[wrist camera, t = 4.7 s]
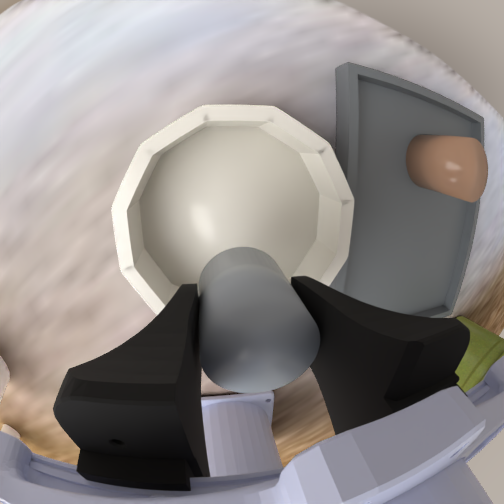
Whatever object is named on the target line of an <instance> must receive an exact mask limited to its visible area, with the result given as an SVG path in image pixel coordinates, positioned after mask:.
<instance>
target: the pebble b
mask: <svg viewBox="0 0 504 504" xmlns="http://www.w3.org/2000/svg"><path fill="white" fill-rule="evenodd" d="M406 166H407V171H408V174H409V176H410V178H411V180H412V181H413V182H414V184H416V185H417V186H419V187H421V188H425V189H428V190H432V191H435V192H439V193H442V194H446V195H449V196H452V197H455V198H459V199H462V200H465V201H468V202H475V201H477V200H478V199H479V198H480V197H481V195H482V194H483V192H484V189H485V186H486V183H487V176H488V164H487V157H486V154H485V151H484V148H483V146H482V145H481V143H480V142H479V141H478V140H477V139H475V138H470V137H460V136H448V135H432V134H419V135H417V136H415V137H414V138H413V139H412V140H411V142H410V143H409V145H408V148H407V153H406Z"/></svg>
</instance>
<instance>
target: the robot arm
mask: <svg viewBox="0 0 504 504" xmlns="http://www.w3.org/2000/svg"><path fill="white" fill-rule="evenodd" d="M291 285H292V287H293V288H294V290H295V292H296V293H297V295H298V296H299V298H300V299H301V301H302V302H303V304H304V305H305V307H306V308H307V310H308V312H309V313H310V315H311V316H312V318H313V319H314V321H315V322H316V324H317V326H318V329H319V332H320V346H319V350H318V353H317V355H316V357H315V359H314V361H313V362H312V364H311V365H310V367H311V369H312V371H313V373H314V375H315V377H316V379H317V382H318V384H319V387H320V389H321V392H322V395H323V397H324V400H325V403H326V406H327V409H328V412H329V415H330V418H331V421H332V425H333V428H334V431H335V436H333V437H330V438H328V439H325V440H323V441H320V442H318V443H316V444H314V445H313V446H311V447H309V448H308V449H306V450H304V451H302V452H301V453H299V454H297V455H295V457H294V458H293V459H292V460H291V461H290V462H289V463H288V464H287V465H286V467H284V468H283V466H282V463H281V459H280V456H279V453H278V450H277V446H276V443H275V440H274V436H273V433H272V429H271V423H272V414H273V405H274V392H273V391H267V392H262V393H244V394H234V395H224V396H211V397H201V371H202V366H201V363H200V351H199V297H198V286H197V283H196V284H182V285H181V286H180V287H179V289H178V290H177V291H176V293H175V294H174V296H173V297H172V298H171V300H170V301H169V302H168V303H167V305H166V306H165V307H164V308H163V310H162V311H161V312H160V313H159V314H158V315H157V316H156V317H155V318H154V319H153V320H152V321H151V322H150V323H149V324H148V325H147V326H146V327H145V328H144V329H142V330H141V331H140V332H139V333H137V334H136V335H135V336H133V337H132V338H130V339H129V340H127V341H126V342H125V343H123V344H122V345H120V346H118V347H117V348H115V349H113V350H111V351H110V352H108V353H106V354H104V355H102V356H100V357H98V358H96V359H93V360H91V361H88V362H86V363H83V364H81V365H78V366H76V367H73V368H70V369H69V370H68V372H67V374H66V376H65V378H64V380H63V383H62V385H61V388H60V390H59V393H58V395H57V398H56V401H55V403H54V407H53V411H54V415H55V417H56V419H57V421H58V422H59V424H60V426H61V427H62V428H63V429H64V431H65V432H66V433H67V434H68V435H69V437H70V438H71V439H72V440H73V441H74V442H75V444H76V445H77V446H78V447H79V448H80V454H79V459H78V464H77V465H73V464H69V463H65V462H61V461H57V460H54V459H51V458H47V457H44V456H41V455H38V454H35V453H32V451H31V450H30V449H29V448H28V447H27V446H26V445H25V444H24V443H23V442H22V441H21V440H19V439H18V438H16V437H14V436H12V435H10V434H7V433H5V432H3V431H0V502H1V503H3V504H493V503H492V501H491V499H490V498H489V496H488V495H487V493H486V492H485V490H484V489H483V487H482V486H481V484H480V483H479V481H478V480H477V478H476V477H475V475H474V474H473V473H472V471H471V469H470V468H469V467H468V465H467V464H466V463H467V462H468V461H469V460H470V459H472V458H473V457H474V456H475V455H476V454H477V453H478V452H480V450H482V449H483V448H484V447H485V446H486V445H487V444H488V443H489V442H490V441H491V440H492V439H493V438H494V437H495V436H496V435H497V434H498V433H499V432H500V431H501V430H502V429H503V428H504V356H502V357H501V358H500V359H499V360H497V361H496V362H495V363H494V364H493V365H492V366H491V367H490V368H489V370H488V371H487V373H486V375H485V377H484V380H482V381H481V382H479V383H478V384H477V385H475V386H474V387H472V388H471V389H470V390H468V391H467V392H464V391H463V390H462V389H461V388H460V387H459V385H458V384H457V382H458V381H459V380H460V379H459V376H458V375H457V374H456V373H455V371H456V369H457V368H458V366H459V364H460V362H461V360H462V358H463V356H464V354H465V352H466V350H467V348H468V345H469V342H470V330H469V328H468V327H467V326H465V325H464V324H463V323H462V322H461V321H459V320H458V319H456V318H431V317H422V316H414V315H408V314H403V313H399V312H394V311H390V310H386V309H383V308H379V307H376V306H373V305H370V304H367V303H365V302H362V301H359V300H357V299H355V298H352V297H350V296H348V295H346V294H343V293H341V292H339V291H337V290H335V289H333V288H331V287H329V286H327V285H325V284H323V283H321V282H319V281H317V280H315V279H313V278H310V277H308V276H294V277H291Z"/></svg>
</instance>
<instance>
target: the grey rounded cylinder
mask: <svg viewBox="0 0 504 504" xmlns="http://www.w3.org/2000/svg"><path fill="white" fill-rule="evenodd" d="M198 297H199V351H200V363H201V366H202V368H203V370H204V372H205V374H206V375H207V376H208V378H209V379H210V380H211V381H213V382H214V383H215V384H217V385H218V386H220V387H222V388H224V389H227V390H230V391H234V392H239V393H262V392H267V391H271V390H274V389H277V388H280V387H283V386H285V385H287V384H289V383H290V382H292V381H294V380H295V379H297V378H298V377H299V376H301V375H302V374H303V373H304V372H305V371H306V370H307V369H308V368H309V367H310V365H311V364H312V362H313V361H314V359H315V357H316V355H317V353H318V350H319V346H320V332H319V329H318V326H317V324H316V322H315V321H314V319H313V318H312V316H311V315H310V313H309V312H308V310H307V308H306V307H305V305H304V304H303V302H302V301H301V299H300V298H299V296H298V295H297V293H296V292H295V290H294V288H293V287H292V285H291V284H290V282H289V281H288V279H287V278H286V276H285V275H284V273H283V272H282V270H281V269H280V267H279V266H278V264H277V263H276V261H275V260H274V259H273V258H272V257H271V256H270V255H268V254H267V253H265V252H263V251H262V250H259V249H256V248H252V247H235V248H231V249H227V250H225V251H222V252H221V253H219V254H217V255H216V256H214V257H213V258H212V259H211V260H210V261H209V262H208V263H207V264H206V266H205V267H204V269H203V270H202V272H201V275H200V278H199V283H198Z"/></svg>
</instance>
